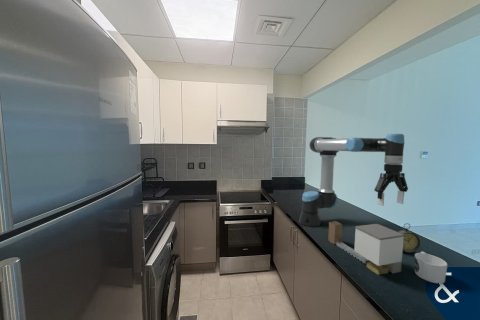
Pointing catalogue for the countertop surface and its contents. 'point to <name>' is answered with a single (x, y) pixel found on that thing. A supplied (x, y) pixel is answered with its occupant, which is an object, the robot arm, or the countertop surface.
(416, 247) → the alarm clock
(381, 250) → the toe kick cabinet
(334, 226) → the brown block grey strip
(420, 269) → the mug
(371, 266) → the yellow sponge
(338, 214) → the countertop surface
